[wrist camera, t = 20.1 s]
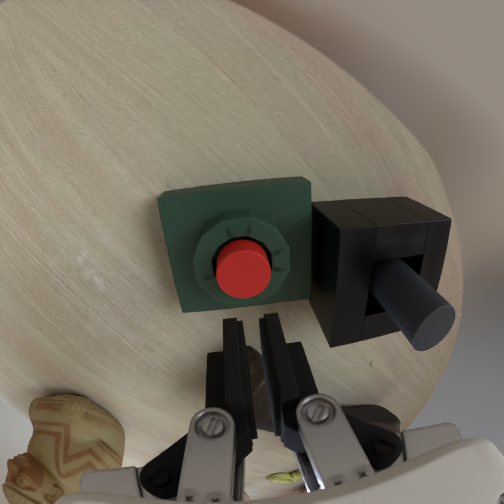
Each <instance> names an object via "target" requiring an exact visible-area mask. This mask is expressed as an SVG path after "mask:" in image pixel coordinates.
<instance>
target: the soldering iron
mask: <svg viewBox="0 0 504 504" xmlns="http://www.w3.org/2000/svg"><path fill="white" fill-rule="evenodd" d="M369 290H370V292H371V293H372V294H373V295H374V297H375V298H376V299H377V300H378V302H379V303H380V304H381V305H382V307H383V308H384V309H385V311H386V312H387V313H388V314H389V316H390V317H391V318H392V320H393V321H394V322H395V324H396V325H397V326H398V327H399V329H400V330H401V331H402V333H403V334H404V335H405V337H406V338H407V340H408V341H409V342H410V344H411V345H412V346H413V348H414V349H415V350H418V351H425V350H428V349H430V348H432V347H434V346H435V345H436V344H438V343H439V342H440V341H441V340H442V339H443V338H444V337H445V336H446V335H447V333H448V332H449V331H450V329H451V327H452V325H453V323H454V320H455V310H454V308H453V306H452V305H450V304H449V303H448V302H447V301H446V300H445V299H444V298H443V297H442V296H441V295H440V294H439V293H438V292H437V291H436V290H435V289H434V288H433V287H432V286H430V285H429V284H428V283H427V282H426V281H425V280H424V279H423V278H422V277H421V276H419V275H418V274H417V273H416V272H415V271H414V270H413V269H412V268H410V267H409V266H408V265H407V264H406V263H405V262H403V261H402V260H401V259H400V258H397V259H391V260H384V261H378V262H373V264H372V272H371V279H370V286H369Z"/></svg>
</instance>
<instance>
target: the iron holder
mask: <svg viewBox="0 0 504 504" xmlns="http://www.w3.org/2000/svg"><path fill="white" fill-rule="evenodd" d="M311 210H312V268H311V298H309V302H310V305H311V307H312V309H313V311H314V313H315V315H316V318H317V320H318V322H319V324H320V326H321V328H322V331H323V333H324V335H325V337H326V340H327V342H328V344H329V346H330V348H332V347H336V346H341V345H346V344H350V343H355V342H359V341H363V340H367V339H371V338H375V337H379V336H383V335H387V334H390V333H394V332H398V331H401V330H400V329H399V327H398V326H397V325H396V324H395V322H394V321H393V320H392V318H391V317H390V316H389V314H388V313H387V312H386V311H385V309H384V308H383V307H382V305H381V304H380V303H379V302H378V300H377V299H376V298H375V297H374V295H373V294H372V293H371V292H370V290H369V286H370V279H371V272H372V264H373V262H378V261H384V260H391V259H397V258H400V259H401V260H402V261H403V262H405V263H406V264H407V265H408V266H409V267H410V268H412V269H413V270H414V271H415V272H416V273H417V274H418V275H419V276H421V277H422V278H423V279H424V280H425V281H426V282H427V283H428V284H429V285H430V286H432V287H433V288H434V289H435V290H436V291H437V288H438V284H439V280H440V276H441V272H442V268H443V264H444V259H445V254H446V249H447V244H448V239H449V233H450V227H451V218H449V217H447V216H445V215H443V214H441V213H439V212H437V211H435V210H433V209H431V208H429V207H427V206H425V205H423V204H421V203H419V202H417V201H414V200H412V199H410V198H408V197H390V198H368V199H350V200H336V201H322V202H311Z"/></svg>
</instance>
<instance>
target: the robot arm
mask: <svg viewBox="0 0 504 504" xmlns="http://www.w3.org/2000/svg"><path fill="white" fill-rule="evenodd" d="M259 327H260V338H261V349H262V360H263V369H264V375H265V381H266V387H267V392H268V398H269V404H270V410H271V416H272V421H273V427H274V433H275V436H281V441H282V442H284V446H285V447H287V448H288V449H290V450H292V451H293V453H294V456H295V459H296V461H297V464H298V467H299V470H300V472H301V475H302V478H303V481H304V483H305V486H306V489H307V491H308V492H307V493H302V494H296V495H290V496H284V497H277V498H270V499H261V500H251V501H244V479H245V457H246V456H247V455H248V454H250V453H251V452H252V451H253V450H252V446H253V442H252V439H258V437H257V429H256V421H255V413H254V405H253V397H252V389H251V381H250V372H249V364H248V357H247V350H246V343H245V336H244V329H243V322H242V321H237V318H228V319H223V351H222V352H211V353H208V354H207V371H206V404H205V409H203V410H200V411H199V412H197V413H196V414H195V415H194V416H193V418H192V419H191V422H190V426H189V431H188V433H187V434H186V435H185V436H183V437H182V438H181V439H179V440H178V441H177V442H176V443H174V444H173V445H172V446H170V447H169V448H168V449H166V450H165V451H164V452H162V453H161V454H160V455H158V456H157V457H155V458H154V459H153V460H151V461H150V462H148V463H147V464H146V465H145V466H144V467H139V468H136V467H135V466H132V467H123V468H113V469H98V470H89V471H86V472H85V473H83V474H82V476H81V478H80V483H79V484H80V492H76V493H70V494H67V495H64V496H62V497H60V498H59V499H58V500H57V501H56V502H55V504H504V457H503V456H502V454H501V453H500V451H499V450H498V449H497V447H496V446H495V445H494V444H492V443H491V442H490V441H488V440H486V439H482V438H470V439H462V438H461V434H460V431H459V429H458V427H456V426H455V425H454V424H451V423H442V424H438V425H433V426H428V427H422V428H416V429H410V430H403V431H402V432H401V433H394V432H392V431H389V430H386V429H384V428H381V427H378V426H375V425H373V424H370V423H367V422H365V421H362V420H360V419H357V418H355V417H352V416H350V415H347V414H345V413H343V411H342V409H341V407H340V405H339V404H338V402H337V401H336V400H335V399H334V398H332V397H331V396H328V395H325V394H319V393H318V390H317V387H316V384H315V381H314V378H313V375H312V372H311V369H310V366H309V363H308V360H307V357H306V354H305V351H304V349H303V346H302V343H301V342H294V343H287V344H286V341H285V338H284V334H283V331H282V327H281V323H280V320H279V316H278V313H270V314H264V318H259Z"/></svg>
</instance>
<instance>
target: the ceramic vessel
mask: <svg viewBox="0 0 504 504" xmlns="http://www.w3.org/2000/svg"><path fill="white" fill-rule="evenodd" d="M29 416H30V419H31V422H32V425H33V435H32V437H31V439H30V441H29V445H28V449H27V452H26V453H24V454H18V456H15V457H14V458H13V460H12V459H9V460H8V461H7V467H8V474H7V477H6V481H5V484H3V485H2V488H3V492H4V494H5V497H6V499H7V500H8V502H9V503H10V504H55V502H56V501H57V500H58V499H59V498H60V497H62V496H64V495H67V494H70V493H76V492H80V484H79V483H80V478H81V476H82V474H83V473H85V472H86V471H89V470H98V469H113V468H121V467H122V460H123V456H124V450H125V433H124V430H123V428H122V426H121V425H120V424H119V423H118V422H117V421H116V420H115V419H114V418H113V417H112V416H111V415H110V414H109V413H108V412H107V411H105V410H104V409H103V408H101V407H100V406H98V405H96V404H95V403H93V402H91V401H90V400H89V399H88V398H87V397H84V396H75V395H70V394H63V395H57V396H54V397H50V396H45V397H40V398H37V399H34V400H33V401H32V402H31V404H30V407H29Z"/></svg>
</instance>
